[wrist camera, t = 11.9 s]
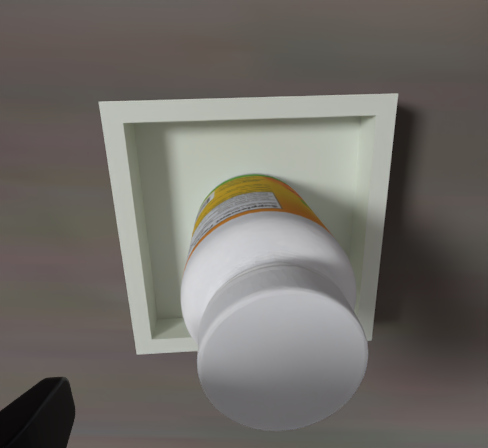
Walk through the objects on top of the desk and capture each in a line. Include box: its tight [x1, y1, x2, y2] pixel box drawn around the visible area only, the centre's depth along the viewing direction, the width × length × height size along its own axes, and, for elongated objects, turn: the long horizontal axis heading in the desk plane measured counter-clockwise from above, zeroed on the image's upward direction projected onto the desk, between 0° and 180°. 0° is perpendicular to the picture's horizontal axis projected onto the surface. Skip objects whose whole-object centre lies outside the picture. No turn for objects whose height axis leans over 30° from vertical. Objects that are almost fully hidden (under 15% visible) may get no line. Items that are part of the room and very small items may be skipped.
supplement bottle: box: [181, 173, 368, 431], centre depth 13 cm, size 5×5×10 cm
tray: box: [99, 94, 398, 354], centre depth 17 cm, size 12×12×2 cm
